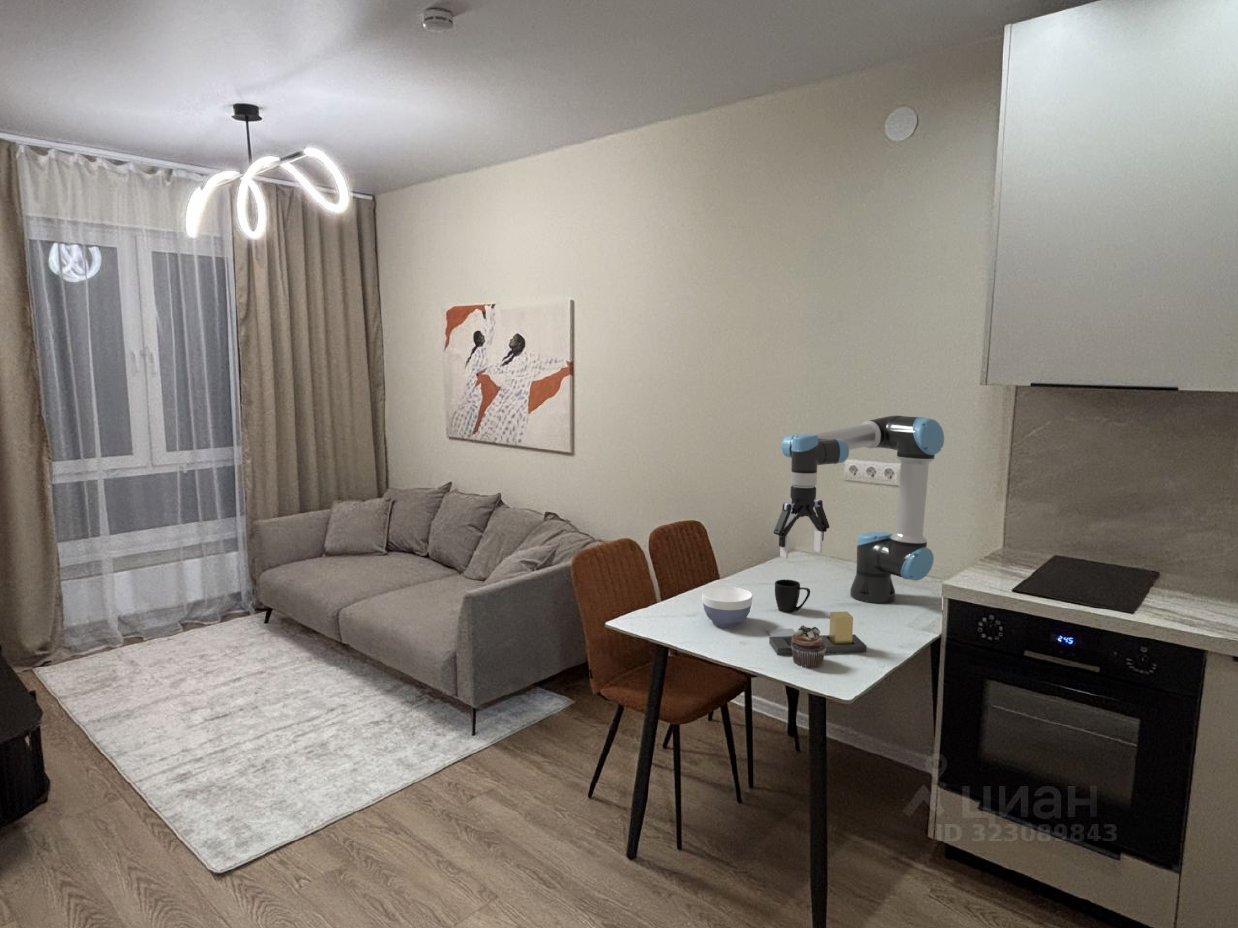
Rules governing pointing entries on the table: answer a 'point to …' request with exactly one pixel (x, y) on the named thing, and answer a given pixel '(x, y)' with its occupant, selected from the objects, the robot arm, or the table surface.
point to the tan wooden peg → (841, 628)
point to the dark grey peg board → (857, 645)
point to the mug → (788, 595)
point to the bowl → (727, 605)
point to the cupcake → (808, 647)
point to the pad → (780, 632)
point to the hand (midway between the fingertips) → (801, 554)
